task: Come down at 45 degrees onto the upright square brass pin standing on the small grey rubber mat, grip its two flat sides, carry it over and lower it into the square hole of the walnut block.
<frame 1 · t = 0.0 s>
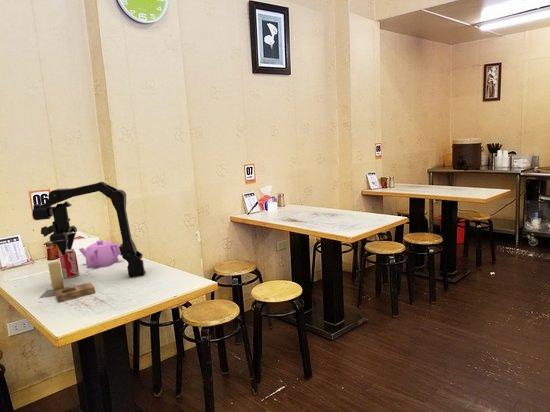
hand: (66, 252, 186), 15 cm above the table, tool pointing down, fingers open, 9 cm apart
mat: (55, 293, 177), on the table
soda can: (71, 277, 199), on the table
teakettle: (102, 263, 218), on the table
socket block: (70, 297, 170), on the table
pin: (59, 293, 175), resting on mat
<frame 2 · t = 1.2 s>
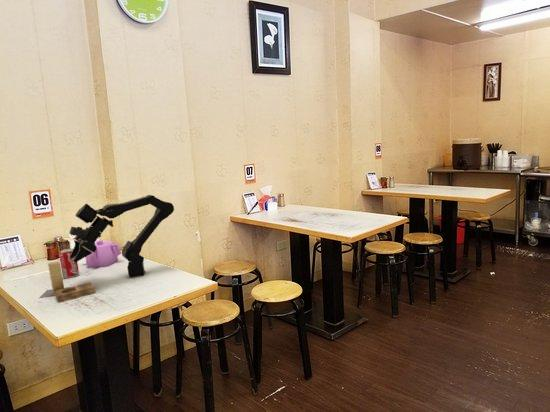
hand: (72, 259, 177), 13 cm above the table, tool tilted 45°, fingers open, 9 cm apart
nothing on the table moved.
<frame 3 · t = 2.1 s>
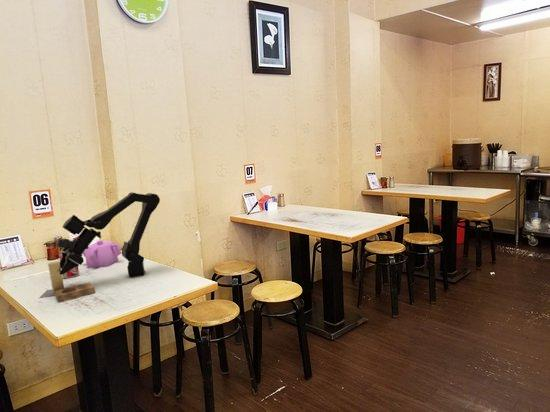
hand: (59, 271, 174), 9 cm above the table, tool tilted 45°, fingers open, 9 cm apart
nothing on the table moved.
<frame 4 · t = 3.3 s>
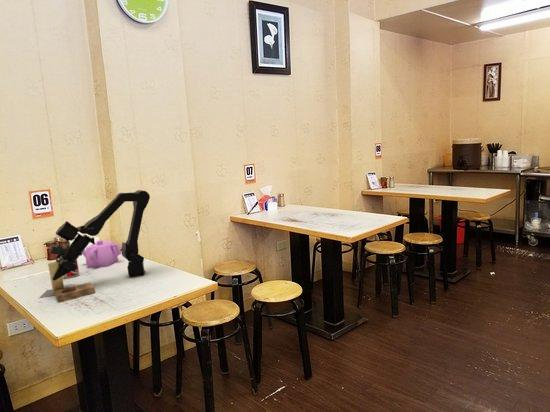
hand: (52, 278, 173), 7 cm above the table, tool tilted 45°, fingers closed on pin, 4 cm apart
pin: (59, 293, 175), resting on mat, touching gripper
everything else where it was.
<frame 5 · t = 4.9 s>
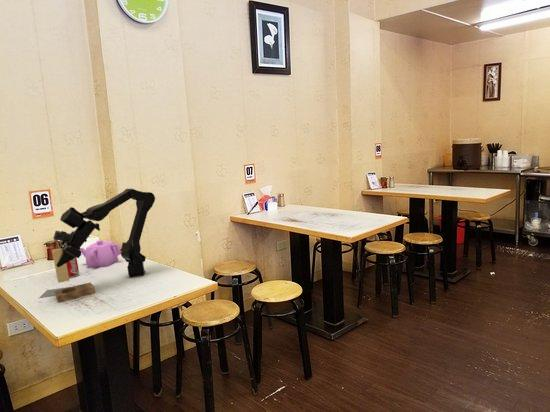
hand: (56, 265, 169), 13 cm above the table, tool tilted 45°, fingers closed on pin, 4 cm apart
pin: (63, 280, 171), point 7 cm above the table, touching gripper
everything else where it was.
when the fingers open (8 cm above the table, at t = 6.7 s): pin drops 1 cm, resting in socket block.
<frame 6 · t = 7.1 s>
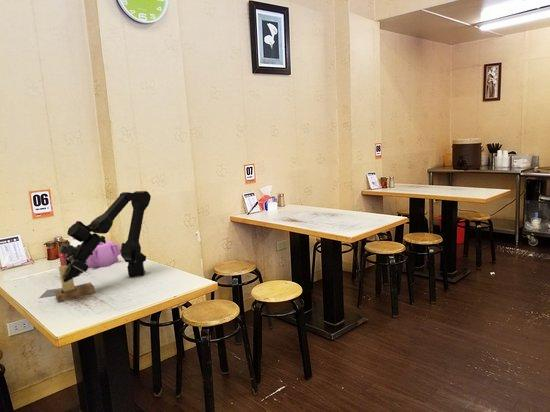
hand: (62, 279, 168), 8 cm above the table, tool tilted 45°, fingers open, 8 cm apart
pin: (69, 297, 170), resting in socket block
everything else where it was.
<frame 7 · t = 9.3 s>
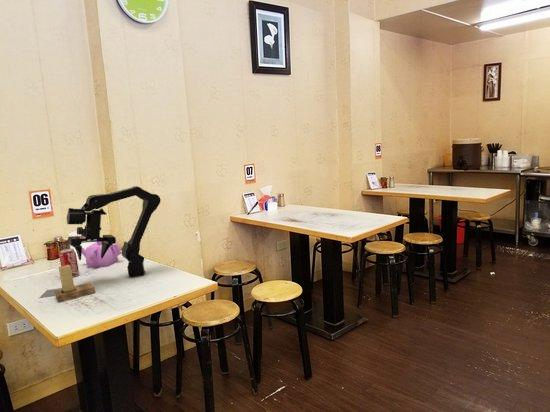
hand: (90, 259, 182), 11 cm above the table, tool pointing down, fingers open, 9 cm apart
nothing on the table moved.
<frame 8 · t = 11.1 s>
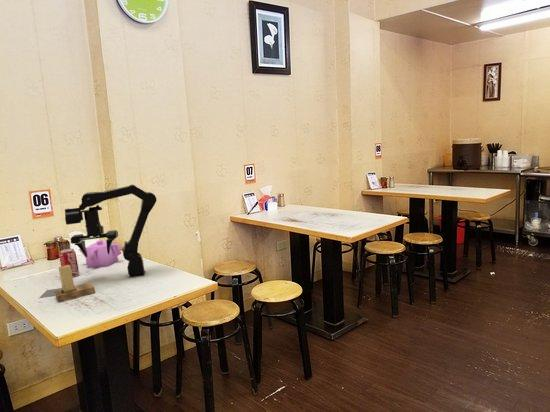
hand: (97, 255, 185), 12 cm above the table, tool pointing down, fingers open, 9 cm apart
nothing on the table moved.
at the end: pin 0.0 cm off-centre on the socket block, point 0.0 cm above the socket block's base; pin tilted 0°; the gripper is holding nothing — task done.
